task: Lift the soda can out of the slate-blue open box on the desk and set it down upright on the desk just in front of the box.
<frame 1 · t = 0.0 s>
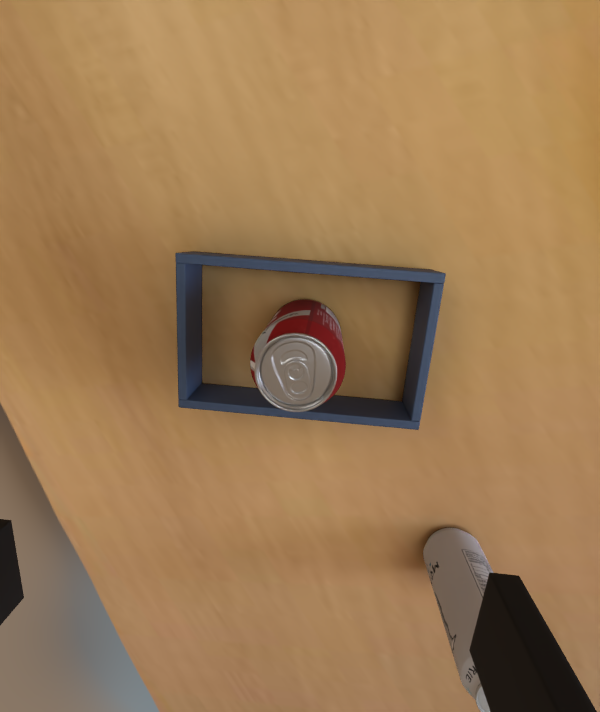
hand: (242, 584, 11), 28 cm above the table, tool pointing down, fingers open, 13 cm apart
energy drink can: (448, 545, 43), on the table
open box: (305, 333, 37), on the table
soda can: (305, 333, 38), resting in open box
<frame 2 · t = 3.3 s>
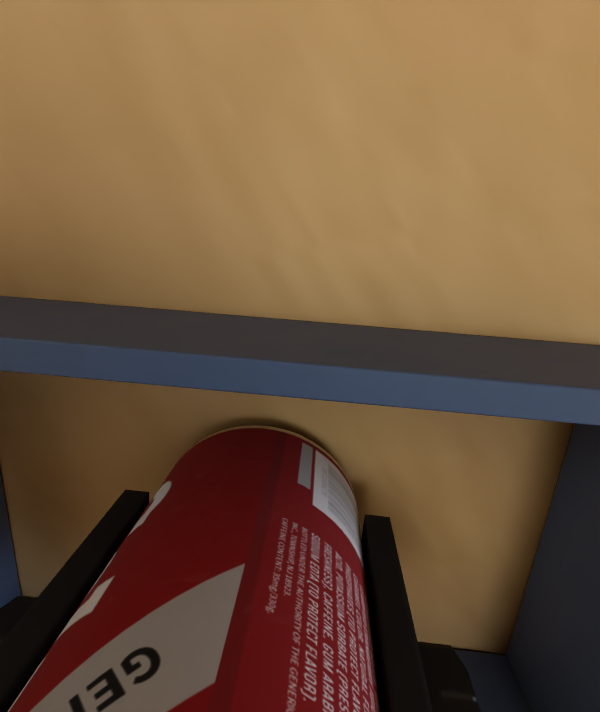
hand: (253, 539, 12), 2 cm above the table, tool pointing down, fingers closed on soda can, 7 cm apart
open box: (263, 500, 14), on the table
soda can: (264, 496, 15), resting in open box, touching gripper
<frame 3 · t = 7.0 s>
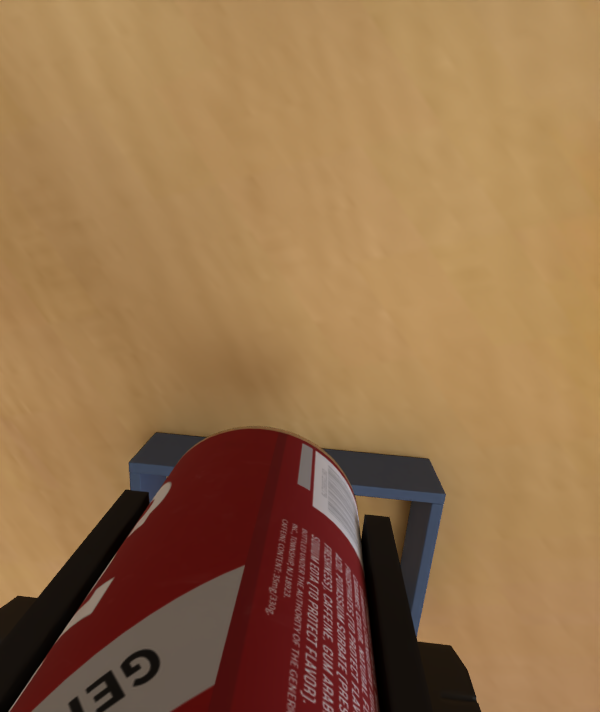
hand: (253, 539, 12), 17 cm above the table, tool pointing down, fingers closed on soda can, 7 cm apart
open box: (285, 518, 33), on the table
soda can: (264, 497, 15), point 15 cm above the table, touching gripper
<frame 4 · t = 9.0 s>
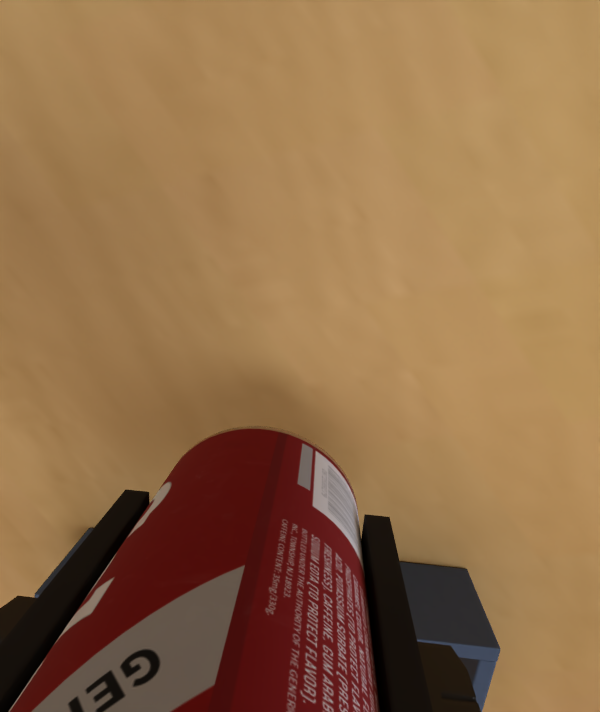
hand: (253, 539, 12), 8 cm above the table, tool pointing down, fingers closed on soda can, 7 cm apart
open box: (268, 637, 24), on the table
soda can: (264, 497, 15), point 6 cm above the table, touching gripper
when the fingers open (2 cm above the table, at t = 10.8 s): soda can stays where it is, on the table.
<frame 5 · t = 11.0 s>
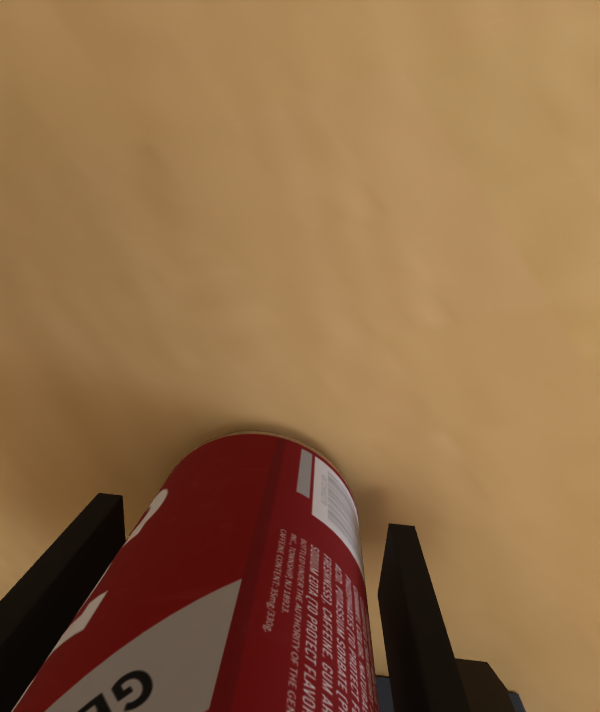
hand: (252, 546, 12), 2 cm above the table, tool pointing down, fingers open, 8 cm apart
soda can: (263, 502, 14), on the table
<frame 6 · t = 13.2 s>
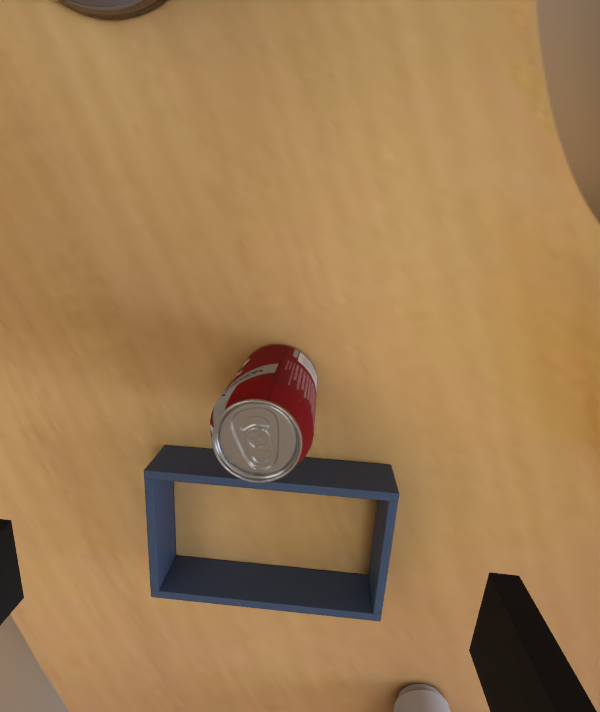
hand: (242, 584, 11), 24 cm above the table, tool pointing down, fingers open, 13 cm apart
energy drink can: (418, 697, 45), on the table
open box: (273, 515, 39), on the table
soda can: (280, 378, 35), on the table
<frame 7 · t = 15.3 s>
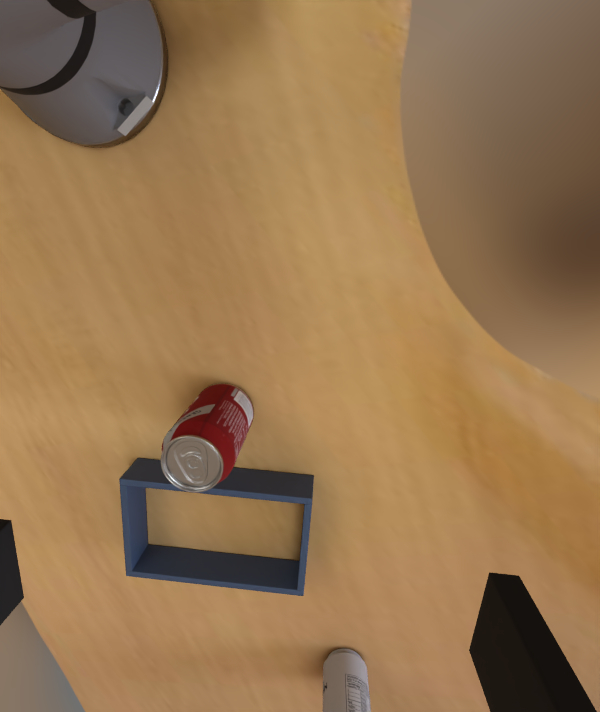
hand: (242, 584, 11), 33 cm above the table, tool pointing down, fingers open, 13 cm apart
energy drink can: (344, 660, 55), on the table
open box: (224, 513, 50), on the table
soda can: (226, 408, 46), on the table
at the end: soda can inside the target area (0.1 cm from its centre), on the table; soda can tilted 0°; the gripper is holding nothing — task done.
